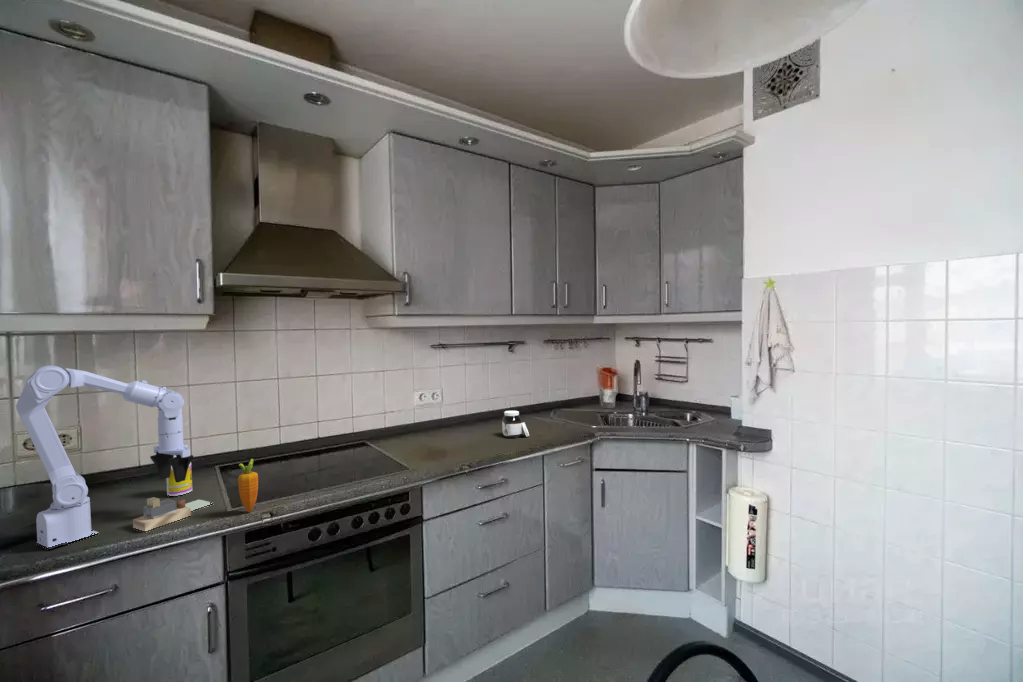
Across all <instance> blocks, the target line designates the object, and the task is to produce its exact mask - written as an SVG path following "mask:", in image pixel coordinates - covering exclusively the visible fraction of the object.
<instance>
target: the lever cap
mask: <svg viewBox="0 0 1023 682" xmlns="http://www.w3.org/2000/svg"><path fill="white" fill-rule="evenodd" d="M176 501H177V500H175V499H171V498H166V499H163V500H161V499H160V498H158V497H155V496H153V497H150V498H147V499H146V505H144V506H142V510H143V511H142V512H143V516H147V517H151V518H152V517H155V516H158V515H161V514H164V513H167V512H171V511H174V510H177V504H176Z"/></svg>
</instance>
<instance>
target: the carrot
mask: <svg viewBox="0 0 1023 682" xmlns="http://www.w3.org/2000/svg"><path fill="white" fill-rule="evenodd" d="M253 465H254V458H250V461H249V462H248V464H247V465H244V464H243V463H239V464H238V467H240V469H241V470H242V471H243V472H242V473H241V474H240V475H239V476H238V478H237V484H238V493H239V497H240V501H241V504H242V506H243V508H244V509H245V511H246V512H247V513H249V512H250V513H251V512H252V511H253V509H254V507H255V505H256V502H257V497H258V492H259V475H258V473H257V472H254V471H251V470H252V468H253Z"/></svg>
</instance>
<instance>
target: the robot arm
mask: <svg viewBox="0 0 1023 682" xmlns="http://www.w3.org/2000/svg"><path fill="white" fill-rule="evenodd" d="M67 386H68V387H69V388H71V389H73V388H78V387H80V388H81V387H88V388H93V389H98V390H102V391H106V392H111V393H114V394H119V395H122V397H123V400H124V401H126V402H129V403H130V402H131V403H134V404H138V405H142V406H146V407H149V408H155V407H156V408H157V410H158V411H157V415H158V417H157V434H158V437H157V438H158V445H154V446H153V454H154V455H150V456H149V458H150V460H151V461H152V462H153V464H154V466H155V468H156V470H157V473H158V476H159V478H160V479H161V480H164V479H166V478H169V477H170V474H171V466H172V468H173V472H174V478H175V481H176V482H181V481H185V478H186V474H187V470H188V467H189V465H190V463H191V464H192V461H193V459H194V455H193V454H191V449H190V448H189V446H188V444H184V417H183V409H182V408H183V407H184V405H185V399H184V397H183V395H182V394H181V393H179V392H177V391H175V390H172V389H167V388H168V387H165V386H162V387H160V386H157V385H153V384H150V383H148V381H147V380H144V379H142V380H140V381H138V380H134V381H131V382H128V383H126V382H125V381H124V382H123V381H119V380H116V379H113V378H109V377H107V376H103V375H100V374H97V373H93V372H90V371H87V370H83V369H82V370H81V369H75V368H68V367H64V369H63V368H62V367H60V366H57V365H44V366H41V367H39V368H37V369H36V370H35V371H34V372H33V373H32V374H31V375H30V376H29V377H28V378H27V379H26V381H25V384H24V387H23V389H22V390H21V393H20V396H19V398H18V400H17V402H16V405H15V408H16V412H17V414H18V415H19V416H18V417H20V420H21V421H22V423H23V426H24V428H25V431H26V432H27V434H28V436H29V438H30V440H31V443H32V444H33V446H34V449H35V450H36V453H37V455H38V457H39V459H40V460H41V463H42V465H43V467H44V469H45V471H46V474H47V475H48V479H49V480H50V483H51V492H52V500H53V501H52V503H50V504H49V505H50V507H48V508H47V509H45V510H42V511H40V512H38V513H37V515H36V519H35V520H36V521H35V523H36V539H37V542H36V543H39V544H41V545H43V546H46V547H47V548H48V547H52V546H55V545H58V544H61V543H65V542H67V543H68V542H72V541H75V540H79V539H81V538H84V537H88V536H90V535H91V534H92V533H93V534H92V535H94V533H95V534H97V533H99V532H98V531H96V530H93V529H92V517H91V514H92V513H91V499H90V497H89V496H88V493H89V488H88V486H87V484H86V480H85V477H83V476H82V475H80V474H78V473H77V472H76V471H75V469H74V466H73V465H72V462H71V460H70V458H69V456H68V454H67V451H66V450H65V447H64V445H63V444H62V441H61V439H60V437H59V435H58V433H57V431H56V428H55V427H54V424H53V422H52V420H51V418H50V416H49V414H48V412H47V410H46V406H47V405H48V404H49V402H50V401H51V400H52V398H53V397H54V395H56V394H58V393H59V392H61V391H62V390H64V389H65V388H66V387H67ZM174 455H175V456H176V457H174ZM173 457H174V458H173ZM91 530H93V531H91ZM99 534H100V533H99ZM53 539H55V541H53Z"/></svg>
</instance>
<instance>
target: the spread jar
mask: <svg viewBox="0 0 1023 682" xmlns="http://www.w3.org/2000/svg"><path fill="white" fill-rule="evenodd" d="M503 414H504V416H503V417H502V421H501V422H502V423H501V425H502V426H501V427H502V434H503V437H504V438H506V439H517V438H516V437H518V438H520V437H521V435H522V433H523V432H524V434H525V437H526V438H527V437H530V433H529V430H528V428H527V424H526V422H525V421H524V422H522V418H521V416H520V411H518V410H505V411H503Z"/></svg>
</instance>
